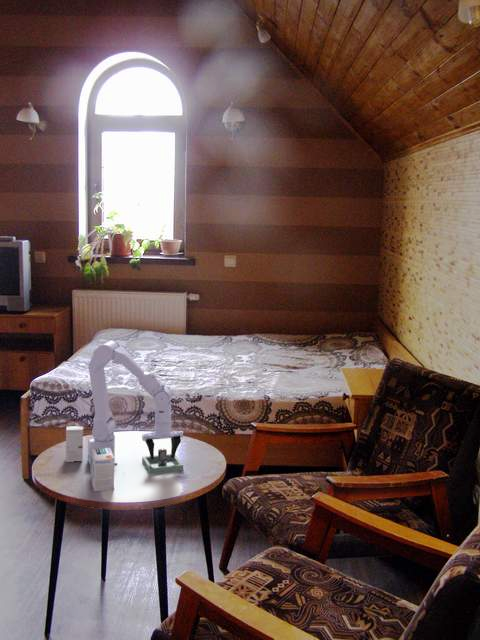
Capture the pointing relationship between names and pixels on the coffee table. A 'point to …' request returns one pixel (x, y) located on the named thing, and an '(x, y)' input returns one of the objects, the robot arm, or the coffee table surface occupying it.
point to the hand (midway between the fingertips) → (162, 457)
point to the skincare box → (74, 443)
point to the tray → (162, 468)
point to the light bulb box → (102, 469)
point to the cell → (162, 457)
